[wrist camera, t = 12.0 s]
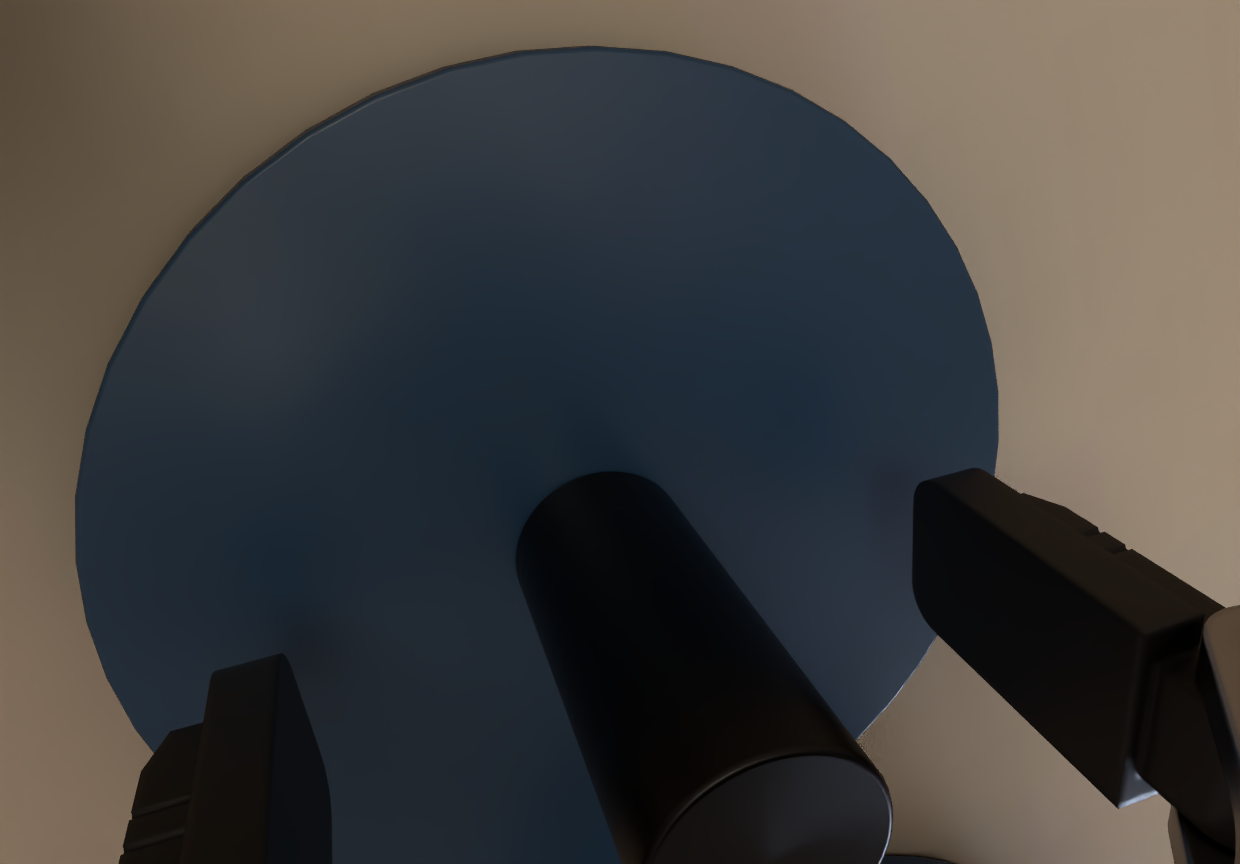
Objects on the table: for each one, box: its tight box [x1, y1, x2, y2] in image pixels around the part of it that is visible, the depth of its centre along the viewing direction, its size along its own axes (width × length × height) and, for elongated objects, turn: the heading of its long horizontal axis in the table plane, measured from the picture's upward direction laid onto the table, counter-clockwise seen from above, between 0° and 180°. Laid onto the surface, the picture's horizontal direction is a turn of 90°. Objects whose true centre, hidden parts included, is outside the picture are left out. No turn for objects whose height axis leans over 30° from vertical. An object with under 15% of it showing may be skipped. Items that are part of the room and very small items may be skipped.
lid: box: [75, 46, 998, 864], centre depth 11 cm, size 13×13×7 cm
